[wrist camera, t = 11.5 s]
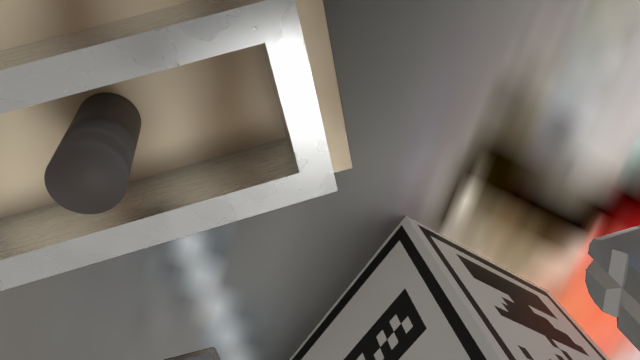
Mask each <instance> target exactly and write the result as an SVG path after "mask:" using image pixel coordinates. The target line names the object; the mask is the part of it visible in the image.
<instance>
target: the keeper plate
mask: <svg viewBox="0 0 640 360" xmlns="http://www.w3.org/2000/svg"><path fill="white" fill-rule="evenodd" d="M190 1H194V0H0V51H2V50H5V49H9V48H13V47H17V46H21V45H25V44H29V43H32V42H36V41H40V40H44V39H48V38H52V37H56V36H59V35H63V34H67V33H71V32H75V31H79V30H83V29H86V28H90V27H94V26H98V25H102V24H106V23H109V22H113V21H117V20H121V19H125V18H129V17H133V16H136V15H140V14H144V13H148V12H152V11H156V10H160V9H163V8H167V7H171V6H175V5H179V4H183V3H187V2H190ZM295 2H296V7H297V11H298V16H299V20H300V25H301V29H302V34H303V38H304V42H305V47H306V51H307V56H308V60H309V65H310V69H311V74H312V78H313V83H314V87H315V92H316V96H317V100H318V105H319V109H320V114H321V118H322V123H323V127H324V132H325V136H326V141H327V145H328V150H329V154H330V158H331V163H332V167H333V172H334V173H336V172H339V171H343V170H347V169H350V168H352V163H351V157H350V152H349V146H348V140H347V135H346V129H345V124H344V118H343V112H342V107H341V101H340V95H339V90H338V84H337V78H336V73H335V67H334V61H333V56H332V50H331V44H330V39H329V33H328V28H327V22H326V16H325V11H324V5H323V0H295ZM284 137H286V135H285V131H284V127H283V124H282V120H281V116H280V113H279V109H278V105H277V102H276V98H275V94H274V90H273V87H272V83H271V79H270V76H269V72H268V68H267V65H266V61H265V57H264V53H263V50H262V46H261V44H258V45H255V46H251V47H247V48H244V49H240V50H236V51H232V52H229V53H225V54H221V55H218V56H214V57H210V58H206V59H203V60H199V61H195V62H192V63H188V64H184V65H180V66H177V67H173V68H169V69H166V70H162V71H158V72H154V73H151V74H147V75H143V76H140V77H136V78H132V79H128V80H125V81H121V82H117V83H114V84H110V85H106V86H102V87H99V88H95V89H91V90H88V91H84V92H80V93H76V94H73V95H69V96H65V97H62V98H58V99H54V100H50V101H47V102H43V103H39V104H36V105H32V106H28V107H25V108H21V109H17V110H13V111H10V112H6V113H2V114H0V218H3V217H7V216H10V215H14V214H17V213H21V212H24V211H28V210H31V209H35V208H38V207H42V206H45V205H49V204H52V203H56V202H57V203H58V204H59V205H60V206H62V207H64V208H65V209H67V210H70V211H72V212H75V213H80V214H99V213H103V212H106V211H108V210H110V209H112V208H114V207H115V206H116V205H117V204H118V203H119V202H120V201H121V200H122V198H123V197H124V195H125V192H126V188H127V184H128V182H129V181H133V180H136V179H140V178H144V177H147V176H151V175H154V174H158V173H161V172H165V171H168V170H172V169H175V168H179V167H182V166H186V165H189V164H193V163H196V162H200V161H203V160H207V159H210V158H214V157H217V156H221V155H224V154H228V153H231V152H235V151H238V150H242V149H245V148H249V147H252V146H256V145H259V144H263V143H266V142H270V141H273V140H277V139H280V138H284Z"/></svg>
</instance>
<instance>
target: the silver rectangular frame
mask: <svg viewBox="0 0 640 360" xmlns="http://www.w3.org/2000/svg"><path fill="white" fill-rule="evenodd" d="M258 44H261V46H262V50H263V53H264V57H265V61H266V65H267V68H268V72H269V76H270V79H271V83H272V87H273V90H274V94H275V98H276V102H277V105H278V109H279V113H280V116H281V120H282V124H283V127H284V131H285V135H286V137H284V138H280V139H277V140H273V141H270V142H266V143H263V144H259V145H256V146H252V147H249V148H245V149H242V150H238V151H235V152H231V153H228V154H224V155H221V156H217V157H214V158H210V159H207V160H203V161H200V162H196V163H193V164H189V165H186V166H182V167H179V168H175V169H172V170H168V171H165V172H161V173H158V174H154V175H151V176H147V177H144V178H140V179H136V180H133V181H129V182H128V184H127V188H126V192H125V195H124V197H123V198H122V200H121V201H120V202H119V203H118V204H117V205H116V206H115V207H114V208H112V209H110V210H108V211H106V212H103V213H99V214H80V213H75V212H72V211H70V210H67V209H65V208H64V207H62V206H60V205H59V204H58V203H57V202H56V203H52V204H49V205H45V206H42V207H38V208H35V209H31V210H28V211H24V212H21V213H17V214H14V215H10V216H7V217H3V218H0V291H2V290H5V289H9V288H12V287H16V286H19V285H22V284H26V283H29V282H32V281H36V280H39V279H43V278H46V277H49V276H53V275H56V274H59V273H63V272H66V271H69V270H73V269H76V268H80V267H83V266H86V265H90V264H93V263H96V262H100V261H103V260H107V259H110V258H113V257H117V256H120V255H123V254H127V253H130V252H133V251H137V250H140V249H144V248H147V247H150V246H154V245H157V244H160V243H164V242H167V241H171V240H174V239H177V238H181V237H184V236H187V235H191V234H194V233H197V232H201V231H204V230H208V229H211V228H214V227H218V226H221V225H224V224H228V223H231V222H235V221H238V220H241V219H245V218H248V217H251V216H255V215H258V214H261V213H265V212H268V211H272V210H275V209H278V208H282V207H285V206H288V205H292V204H295V203H299V202H302V201H305V200H309V199H312V198H315V197H319V196H322V195H325V194H329V193H332V192H336V191H338V190H337V185H336V181H335V176H334V172H333V167H332V163H331V158H330V154H329V150H328V145H327V141H326V136H325V132H324V127H323V123H322V118H321V114H320V109H319V105H318V100H317V96H316V92H315V87H314V83H313V78H312V74H311V69H310V65H309V60H308V56H307V51H306V47H305V42H304V38H303V34H302V29H301V25H300V20H299V16H298V11H297V7H296V2H295V0H194V1H190V2H187V3H183V4H179V5H175V6H171V7H167V8H163V9H160V10H156V11H152V12H148V13H144V14H140V15H136V16H133V17H129V18H125V19H121V20H117V21H113V22H109V23H106V24H102V25H98V26H94V27H90V28H86V29H83V30H79V31H75V32H71V33H67V34H63V35H59V36H56V37H52V38H48V39H44V40H40V41H36V42H32V43H29V44H25V45H21V46H17V47H13V48H9V49H5V50H2V51H0V114H2V113H6V112H10V111H13V110H17V109H21V108H25V107H28V106H32V105H36V104H39V103H43V102H47V101H50V100H54V99H58V98H62V97H65V96H69V95H73V94H76V93H80V92H84V91H88V90H91V89H95V88H99V87H102V86H106V85H110V84H114V83H117V82H121V81H125V80H128V79H132V78H136V77H140V76H143V75H147V74H151V73H154V72H158V71H162V70H166V69H169V68H173V67H177V66H180V65H184V64H188V63H192V62H195V61H199V60H203V59H206V58H210V57H214V56H218V55H221V54H225V53H229V52H232V51H236V50H240V49H244V48H247V47H251V46H255V45H258Z"/></svg>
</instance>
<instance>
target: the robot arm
mask: <svg viewBox="0 0 640 360" xmlns="http://www.w3.org/2000/svg"><path fill="white" fill-rule="evenodd" d="M588 254H589V255H590V256H591V257H592V258H593V259H594V260H593V261H592V263H591V264H590V265H589V266H588V268H587V269H586V279H585V282H586V285H587V288H588V291H589V294H590V296H591V297H592V299H593V301H594V302H595V304H596V305H597V306H598V307H599V308H600V309H601V310H602V311H603V312H605V313H607V314H610V315H612V316H615V317H617V328H618V329H619V330H620V331H621V332H622V333H623V334H624V335H625V336H626V337H627V338H628V339H629V341H630V342H631V343H632V344H633V345H634V346H635V347H636V348H637V349H638V350H639V351H640V226H637V227H632V228H629V229H626V230H622V231H619V232H615V233H612V234H609V235H605V236H602V237H599V238H595V239H593V240H592V242H591V243H590V244H589V251H588ZM164 360H220V357H219V355H218V353H217V351H216V349H215V348H214V347H211V348H207V349H203V350H199V351H195V352H191V353H187V354H184V355H180V356H176V357H172V358H168V359H164Z"/></svg>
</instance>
